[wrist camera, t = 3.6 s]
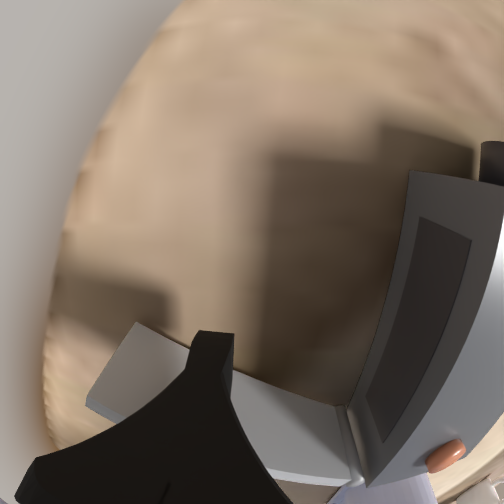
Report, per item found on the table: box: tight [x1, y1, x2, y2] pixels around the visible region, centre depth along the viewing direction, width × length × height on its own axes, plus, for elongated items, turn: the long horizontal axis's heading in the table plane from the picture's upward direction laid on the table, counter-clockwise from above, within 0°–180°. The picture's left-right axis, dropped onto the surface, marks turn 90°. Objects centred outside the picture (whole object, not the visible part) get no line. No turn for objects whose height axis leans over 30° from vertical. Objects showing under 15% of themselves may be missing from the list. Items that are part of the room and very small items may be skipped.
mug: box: [456, 477, 504, 504], centre depth 19 cm, size 12×8×10 cm
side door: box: [85, 322, 365, 487], centre depth 9 cm, size 11×1×5 cm, turn 61°
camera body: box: [346, 141, 504, 488], centre depth 8 cm, size 14×6×6 cm, turn 176°
